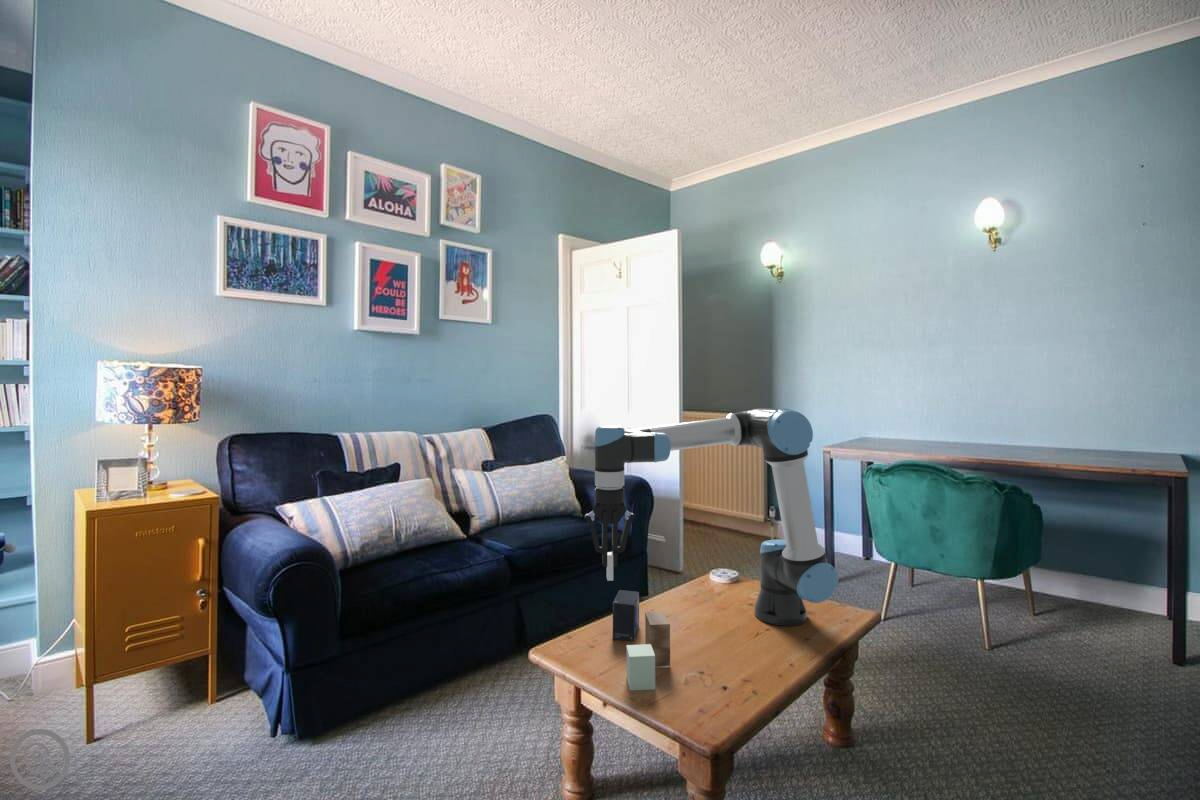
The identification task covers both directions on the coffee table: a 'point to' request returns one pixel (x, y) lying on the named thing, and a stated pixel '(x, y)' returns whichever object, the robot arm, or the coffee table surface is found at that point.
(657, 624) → the walnut block
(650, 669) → the sage block
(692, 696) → the coffee table surface
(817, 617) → the coffee table surface
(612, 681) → the coffee table surface
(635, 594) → the small box
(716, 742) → the coffee table surface
